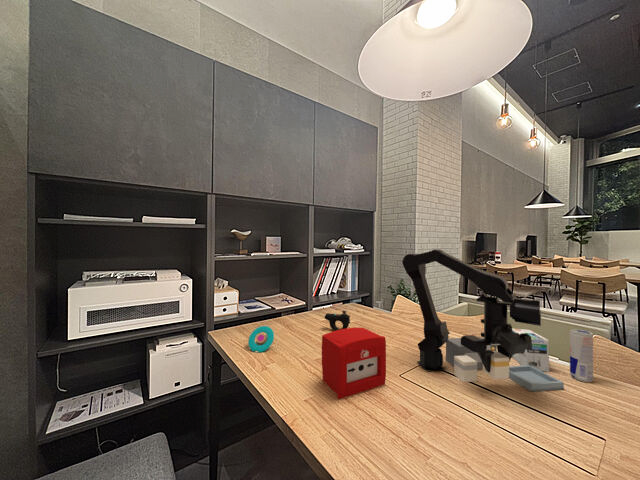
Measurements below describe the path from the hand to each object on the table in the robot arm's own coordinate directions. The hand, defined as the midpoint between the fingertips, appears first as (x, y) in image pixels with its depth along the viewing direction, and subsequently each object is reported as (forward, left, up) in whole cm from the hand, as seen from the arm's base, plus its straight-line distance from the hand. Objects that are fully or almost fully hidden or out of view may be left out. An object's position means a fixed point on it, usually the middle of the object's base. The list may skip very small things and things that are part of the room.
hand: (495, 371), depth 76 cm
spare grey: (-5, +6, -5) cm, 9 cm away
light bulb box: (+24, +12, -5) cm, 27 cm away
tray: (+14, +2, -5) cm, 15 cm away
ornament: (-71, +36, -5) cm, 80 cm away
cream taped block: (0, 0, -1) cm, 1 cm away
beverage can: (+31, +1, -5) cm, 31 cm away
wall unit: (+3, +14, -5) cm, 15 cm away
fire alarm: (-41, +7, -5) cm, 42 cm away
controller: (-37, +52, -5) cm, 64 cm away
